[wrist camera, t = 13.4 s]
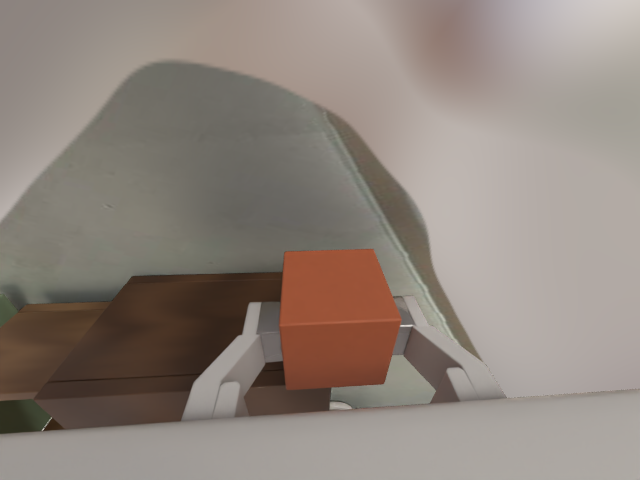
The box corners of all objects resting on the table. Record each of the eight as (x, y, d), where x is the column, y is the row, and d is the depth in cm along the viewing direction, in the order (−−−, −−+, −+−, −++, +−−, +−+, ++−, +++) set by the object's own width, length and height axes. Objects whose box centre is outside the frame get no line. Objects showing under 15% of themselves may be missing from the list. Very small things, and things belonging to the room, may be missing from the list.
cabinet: (176, 369, 28) (128, 487, 20) (132, 275, 21) (31, 399, 13) (317, 362, 29) (324, 471, 21) (320, 270, 22) (331, 383, 14)
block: (284, 250, 12) (278, 325, 8) (373, 248, 12) (403, 319, 9) (289, 312, 14) (286, 391, 10) (364, 309, 14) (384, 385, 11)
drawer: (6, 383, 25) (-88, 484, 19) (-93, 296, 19) (-280, 404, 13) (207, 373, 27) (180, 464, 21) (176, 288, 20) (123, 383, 14)
